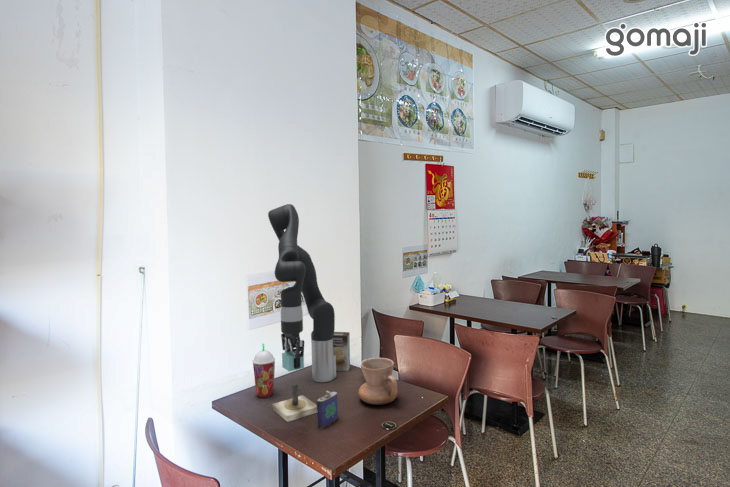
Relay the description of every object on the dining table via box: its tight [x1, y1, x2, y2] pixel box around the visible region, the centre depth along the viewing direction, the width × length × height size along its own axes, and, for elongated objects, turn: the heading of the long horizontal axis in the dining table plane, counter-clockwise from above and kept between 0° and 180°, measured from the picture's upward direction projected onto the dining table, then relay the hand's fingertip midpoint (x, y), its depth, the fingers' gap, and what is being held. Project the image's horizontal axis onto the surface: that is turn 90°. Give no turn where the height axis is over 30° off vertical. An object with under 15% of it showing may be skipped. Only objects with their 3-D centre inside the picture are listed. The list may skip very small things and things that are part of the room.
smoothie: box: [252, 343, 276, 398], centre depth 163 cm, size 8×8×20 cm
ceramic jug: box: [357, 357, 399, 406], centre depth 155 cm, size 18×14×14 cm
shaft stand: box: [272, 384, 317, 423], centre depth 149 cm, size 12×12×9 cm
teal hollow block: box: [281, 351, 305, 372], centre depth 148 cm, size 6×6×5 cm
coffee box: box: [333, 331, 351, 372], centre depth 190 cm, size 9×6×16 cm
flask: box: [316, 390, 339, 430], centre depth 140 cm, size 9×3×11 cm, turn 144°
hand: (293, 365), depth 148 cm, fingers closed on teal hollow block, 5 cm apart
